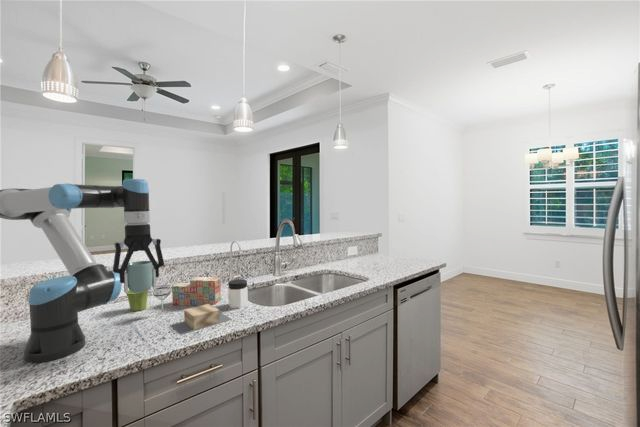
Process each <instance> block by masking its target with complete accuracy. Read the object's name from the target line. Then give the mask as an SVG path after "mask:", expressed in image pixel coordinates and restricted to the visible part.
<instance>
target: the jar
mask: <svg viewBox="0 0 640 427" xmlns="http://www.w3.org/2000/svg"><path fill="white" fill-rule="evenodd" d="M247 282H248V280H246V279H244V278H243V279H241V278H239V279H238V278H237V279H232V280H229V281H228V287H227V290H228V291H227V297H228V307H229V308H230V309H241V308H243V309H246V308H248V306H249V297H248V295H249V294H248V293H249V292H248V291H249V290H248V283H247Z"/></svg>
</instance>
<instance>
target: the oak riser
mask: <svg viewBox="0 0 640 427" xmlns="http://www.w3.org/2000/svg"><path fill="white" fill-rule="evenodd" d="M219 312H220V309H219V308H217V307H215V306H213V304H204V305H200V306H192V307H189V308H186V309H183V316H184V317H183V318H184V320H183V321H184V322H185V323H186V324H187V325H189V326H190V327H191V328H192V329H194V330H195V329H198V328H202V327H205V326H209V325H212V324H215V323H219V322H220V317H219ZM219 324H220V323H219ZM209 327H210V326H209Z"/></svg>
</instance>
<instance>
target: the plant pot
mask: <svg viewBox="0 0 640 427" xmlns="http://www.w3.org/2000/svg"><path fill="white" fill-rule="evenodd" d="M150 289H151V288H150ZM150 289H149V290H148V291H146V292H142V293H133V292H131V291H130V290H129V289H128V293H125V295H126V296H127V299H128V303H129V309H130V311H131V312H137V311H143V310H146V308H147V305H148V304H147V302H148V295H149V292H150Z"/></svg>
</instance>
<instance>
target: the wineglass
mask: <svg viewBox="0 0 640 427" xmlns="http://www.w3.org/2000/svg"><path fill="white" fill-rule="evenodd" d="M170 287H171V285H169V284H161V285H156V288H153V287H152V289H153V292H152V295H153V297H154V298H156V299H157V300H160V303H161V304H160V305H161V312H159V313H157V314H155V317H158V316H162V315H167V314H168V312H164V300H165V299H166V298H168V297H169V296H170V295H171V292H172V289H171V288H170Z"/></svg>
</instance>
